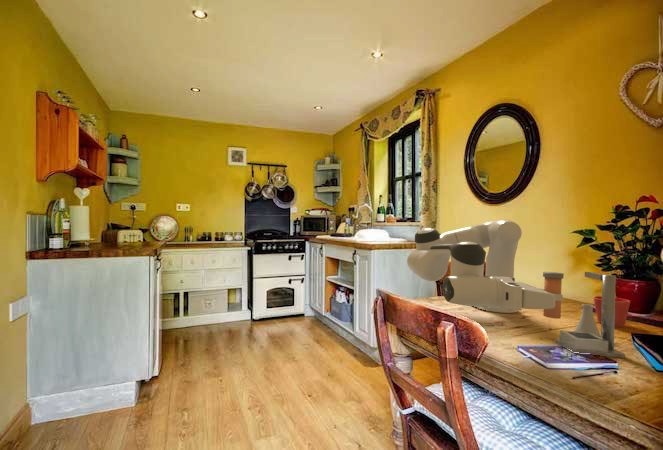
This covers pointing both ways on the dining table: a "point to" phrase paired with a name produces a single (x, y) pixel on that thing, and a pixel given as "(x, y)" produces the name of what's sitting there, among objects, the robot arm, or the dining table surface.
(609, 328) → the grey post stand
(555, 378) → the dining table surface
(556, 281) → the orange capped jar
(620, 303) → the flower pot
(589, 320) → the flask
